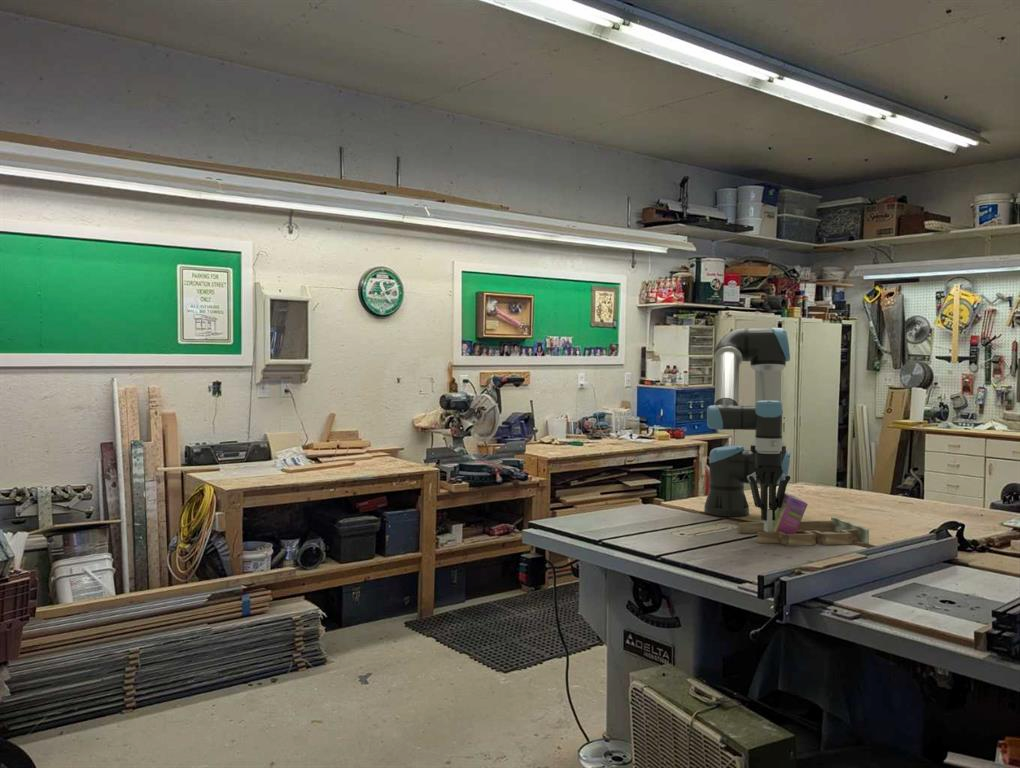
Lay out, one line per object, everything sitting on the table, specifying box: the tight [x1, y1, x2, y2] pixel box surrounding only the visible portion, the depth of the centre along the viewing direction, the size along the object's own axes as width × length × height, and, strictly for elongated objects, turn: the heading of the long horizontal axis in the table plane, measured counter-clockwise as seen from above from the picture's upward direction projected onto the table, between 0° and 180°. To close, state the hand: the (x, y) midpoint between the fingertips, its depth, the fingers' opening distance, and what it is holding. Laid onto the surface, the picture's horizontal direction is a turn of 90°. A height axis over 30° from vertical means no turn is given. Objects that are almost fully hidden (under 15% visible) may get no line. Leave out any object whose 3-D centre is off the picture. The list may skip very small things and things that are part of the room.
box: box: [772, 492, 809, 534], centre depth 229 cm, size 10×6×12 cm, turn 174°
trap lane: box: [737, 516, 870, 547], centre depth 228 cm, size 19×31×4 cm, turn 96°
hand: (767, 531), depth 228 cm, fingers closed
